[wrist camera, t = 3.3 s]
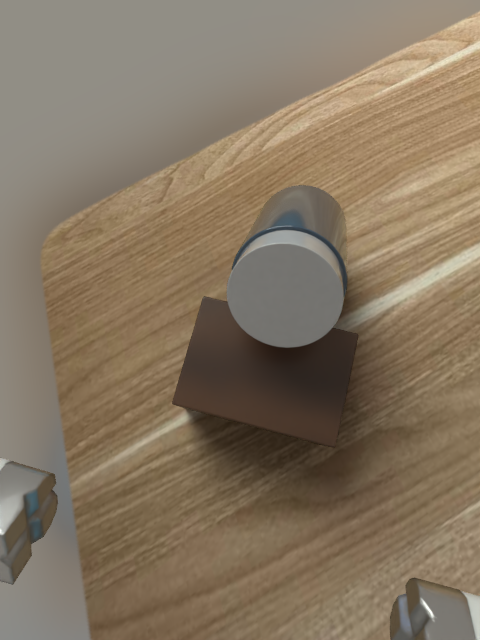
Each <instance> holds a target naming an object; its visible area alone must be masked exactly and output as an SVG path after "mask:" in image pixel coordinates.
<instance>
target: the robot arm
mask: <svg viewBox="0 0 480 640" xmlns="http://www.w3.org/2000/svg"><path fill="white" fill-rule="evenodd" d="M55 484H56V479H55V474H53V473H50V472H46V471H43V470H40V469H36V468H33V467H29V466H26V465H23V464H19V463H16V462H14V461H11V460H7V459H3V458H0V581H2V582H6V583H9V584H14V582H15V581H16V579H17V578H18V576H19V574H20V573H21V571H22V570H23V568H24V566H25V565H26V563H27V562H28V560H29V559H30V557H31V556H32V553H31V544H32V543H34V542H36V541H37V540H39V539H41V538H42V537H44V535H45V533H46V532H47V530H48V529H49V527H50V525H51V523H52V520H53V518H54V516H55V513H56V510H57V504H58V500H57V495H56V494H55V492H54V491H53V490H52V489H53V487H54V486H55ZM390 639H391V640H480V596H477V595H474V594H470V593H467V592H463V591H460V590H458V589H454V588H451V587H447V586H443V585H439V584H436V583H432V582H428V581H425V580H421V579H417V578H412V579H410V580H409V581H408V582H407V584H406V594H403V595H400V596H398V597H397V599H396V601H395V602H394V604H393V607H392V612H391V616H390Z"/></svg>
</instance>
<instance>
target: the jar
mask: <svg viewBox="0 0 480 640" xmlns="http://www.w3.org/2000/svg"><path fill="white" fill-rule="evenodd" d="M346 290H347V228H346V219H345V216H344V213H343V211H342V209H341V207H340V205H339V204H338V202H337V201H336V200H335V199H334V198H333V197H332V196H331V195H329V194H328V193H326V192H325V191H323V190H321V189H319V188H316V187H312V186H306V185H299V186H292V187H288V188H285V189H283V190H281V191H279V192H277V193H276V194H274V195H273V196H272V197H271V198H270V199H269V200H268V201H267V202H266V203H265V205H264V206H263V208H262V210H261V212H260V213H259V215H258V217H257V219H256V221H255V222H254V224H253V226H252V228H251V230H250V231H249V233H248V235H247V237H246V239H245V240H244V242H243V244H242V246H241V247H240V249H239V251H238V253H237V255H236V257H235V259H234V262H233V266H232V272H231V274H230V277H229V280H228V284H227V300H228V305H229V308H230V311H231V313H232V315H233V317H234V319H235V320H236V322H237V323H238V324H239V326H240V327H241V328H242V329H243V330H244V331H245V332H246V333H248V334H249V335H250V336H252V337H253V338H255V339H257V340H258V341H261V342H263V343H265V344H268V345H272V346H276V347H285V348H290V347H300V346H304V345H308V344H310V343H313V342H315V341H317V340H319V339H320V338H322V337H323V336H324V335H326V334H327V333H328V332H329V331H330V330H331V329H332V328H333V326H334V325H335V324H336V322H337V321H338V319H339V317H340V314H341V311H342V307H343V300H344V297H345V294H346Z"/></svg>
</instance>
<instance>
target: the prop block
mask: <svg viewBox="0 0 480 640" xmlns="http://www.w3.org/2000/svg"><path fill="white" fill-rule="evenodd" d="M357 340H358V334H356V333H352V332H348V331H344V330H340V329H336V328H332V329H331V330H330V331H329V332H328V333H327V334H326V335H324V336H323V337H322V338H320V339H319V340H317V341H315V342H313V343H310V344H308V345H304V346H300V347H290V348H285V347H276V346H272V345H268V344H265V343H263V342H261V341H258V340H257V339H255V338H253V337H252V336H250V335H249V334H248V333H246V332H245V331H244V330H243V329H242V328H241V327H240V326H239V324H238V323H237V322H236V320H235V319H234V317H233V315H232V313H231V311H230V308H229V305H228V302H226V301H221V300H217V299H213V298H209V297H205V296H204V297H203V299H202V302H201V306H200V309H199V313H198V316H197V320H196V323H195V326H194V330H193V333H192V337H191V340H190V343H189V347H188V350H187V354H186V357H185V360H184V364H183V367H182V371H181V374H180V377H179V381H178V384H177V388H176V391H175V395H174V398H173V401H172V404H173V405H176V406H179V407H183V408H186V409H190V410H193V411H197V412H201V413H204V414H208V415H212V416H216V417H219V418H223V419H227V420H230V421H234V422H238V423H242V424H245V425H249V426H253V427H256V428H260V429H264V430H268V431H271V432H275V433H279V434H282V435H286V436H290V437H294V438H297V439H301V440H305V441H308V442H312V443H316V444H320V445H324V446H328V447H333V448H335V447H336V443H337V438H338V433H339V428H340V423H341V419H342V414H343V409H344V404H345V399H346V394H347V389H348V384H349V379H350V374H351V370H352V365H353V360H354V355H355V350H356V345H357Z"/></svg>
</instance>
